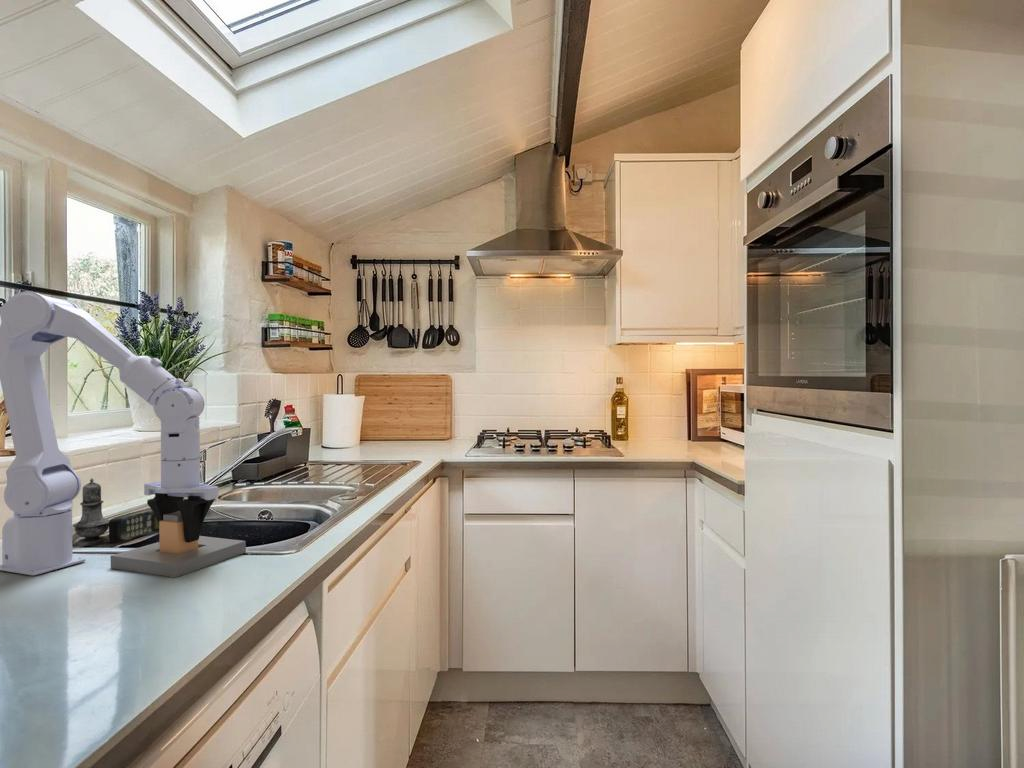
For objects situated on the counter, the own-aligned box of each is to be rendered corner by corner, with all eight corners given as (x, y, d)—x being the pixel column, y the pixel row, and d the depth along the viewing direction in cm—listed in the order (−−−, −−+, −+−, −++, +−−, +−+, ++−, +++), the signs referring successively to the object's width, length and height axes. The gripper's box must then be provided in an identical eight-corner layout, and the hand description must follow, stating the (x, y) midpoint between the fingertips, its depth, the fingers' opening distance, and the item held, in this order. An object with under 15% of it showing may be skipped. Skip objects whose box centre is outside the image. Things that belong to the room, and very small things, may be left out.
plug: (159, 563, 96) (159, 515, 96) (180, 556, 100) (180, 510, 100) (177, 565, 95) (177, 516, 95) (198, 558, 98) (198, 511, 98)
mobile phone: (115, 519, 108) (186, 501, 122) (104, 517, 109) (175, 500, 123) (116, 545, 108) (186, 525, 122) (105, 544, 109) (176, 524, 123)
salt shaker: (90, 546, 106) (90, 481, 106) (64, 545, 107) (63, 480, 107) (118, 538, 112) (118, 476, 112) (93, 536, 113) (92, 475, 113)
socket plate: (110, 568, 93) (110, 555, 93) (186, 545, 107) (185, 534, 107) (175, 577, 89) (175, 564, 89) (245, 552, 102) (245, 540, 102)
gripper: (126, 460, 96) (127, 541, 96) (192, 463, 91) (193, 550, 91) (165, 455, 103) (165, 531, 103) (228, 458, 98) (228, 538, 98)
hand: (181, 539), depth 98 cm, fingers open, 4 cm apart
